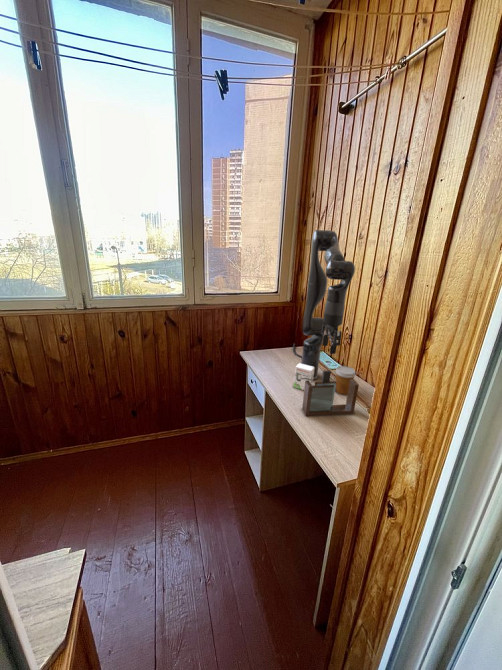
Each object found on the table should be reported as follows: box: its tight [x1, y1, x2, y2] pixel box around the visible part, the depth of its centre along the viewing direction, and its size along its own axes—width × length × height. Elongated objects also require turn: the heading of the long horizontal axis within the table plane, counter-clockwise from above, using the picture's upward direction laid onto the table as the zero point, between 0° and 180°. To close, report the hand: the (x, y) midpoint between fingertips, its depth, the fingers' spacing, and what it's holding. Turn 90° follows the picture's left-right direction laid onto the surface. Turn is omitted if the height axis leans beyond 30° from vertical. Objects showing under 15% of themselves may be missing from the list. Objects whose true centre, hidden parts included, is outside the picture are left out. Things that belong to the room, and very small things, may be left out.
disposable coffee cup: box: [335, 365, 356, 395], centre depth 145 cm, size 10×10×12 cm
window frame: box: [301, 378, 360, 417], centre depth 127 cm, size 5×22×14 cm, turn 98°
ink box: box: [293, 362, 315, 391], centre depth 147 cm, size 9×5×12 cm, turn 61°
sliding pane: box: [313, 369, 336, 407], centre depth 127 cm, size 1×9×18 cm, turn 98°
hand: (328, 349), depth 122 cm, fingers open, 8 cm apart
